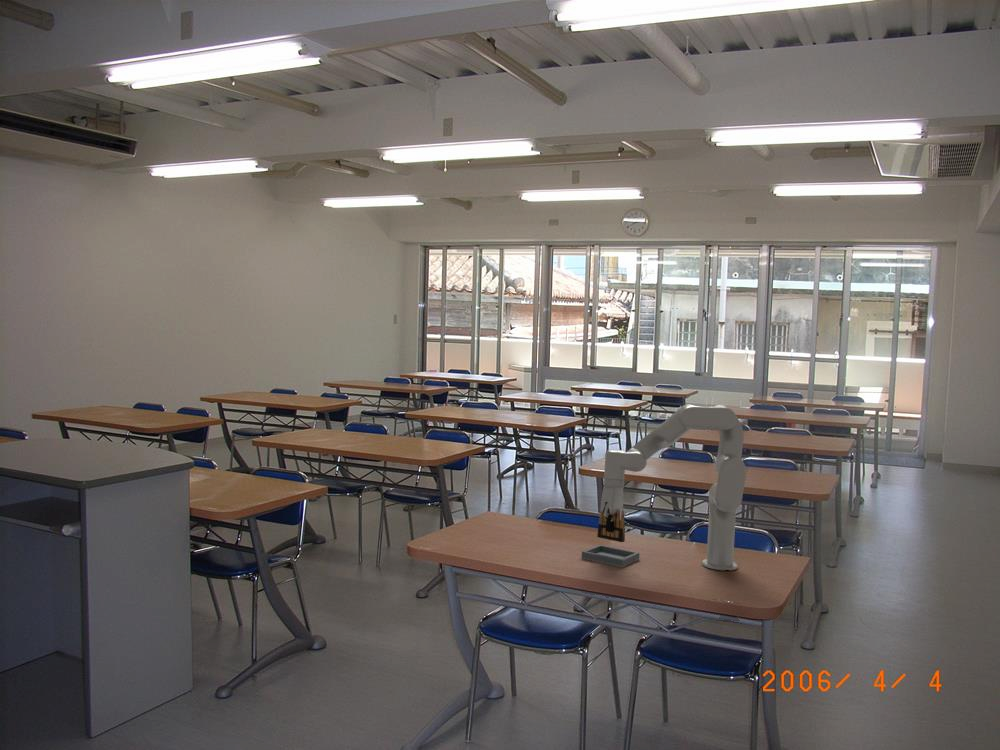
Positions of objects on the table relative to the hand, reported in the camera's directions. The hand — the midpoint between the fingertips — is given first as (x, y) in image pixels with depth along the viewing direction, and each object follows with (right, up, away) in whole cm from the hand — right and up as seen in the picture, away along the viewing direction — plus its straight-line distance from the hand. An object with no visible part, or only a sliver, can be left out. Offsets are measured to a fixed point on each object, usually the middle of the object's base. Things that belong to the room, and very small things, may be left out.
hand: (611, 530), depth 296 cm
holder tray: (0, -11, 0) cm, 11 cm away
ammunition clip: (0, -3, 0) cm, 3 cm away
